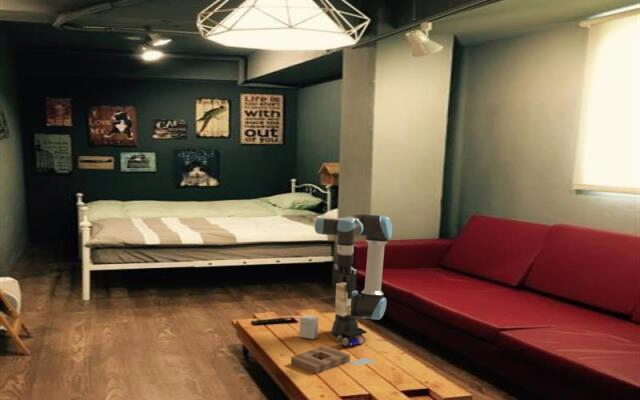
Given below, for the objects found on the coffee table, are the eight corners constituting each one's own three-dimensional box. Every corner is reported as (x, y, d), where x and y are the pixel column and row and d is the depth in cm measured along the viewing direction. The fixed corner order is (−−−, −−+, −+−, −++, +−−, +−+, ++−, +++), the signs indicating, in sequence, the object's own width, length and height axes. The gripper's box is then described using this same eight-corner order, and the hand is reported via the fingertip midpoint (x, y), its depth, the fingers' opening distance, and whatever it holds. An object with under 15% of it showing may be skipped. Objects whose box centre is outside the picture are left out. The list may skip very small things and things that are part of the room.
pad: (363, 358, 273) (363, 357, 273) (380, 365, 266) (380, 363, 266) (349, 364, 266) (349, 363, 266) (366, 370, 259) (366, 369, 259)
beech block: (342, 311, 266) (343, 282, 265) (350, 314, 263) (351, 284, 261) (335, 313, 263) (336, 283, 261) (343, 316, 259) (344, 286, 258)
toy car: (344, 352, 283) (368, 344, 292) (343, 338, 282) (367, 329, 290) (336, 348, 289) (359, 340, 297) (335, 334, 288) (358, 326, 296)
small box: (317, 335, 302) (318, 316, 301) (313, 339, 297) (314, 319, 296) (303, 333, 305) (304, 314, 304) (299, 337, 300) (300, 317, 299)
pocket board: (324, 353, 278) (324, 345, 278) (349, 363, 267) (349, 354, 267) (291, 365, 262) (291, 356, 262) (316, 376, 251) (316, 367, 251)
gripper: (325, 251, 264) (323, 300, 266) (354, 258, 251) (352, 310, 253) (336, 249, 269) (335, 298, 271) (365, 256, 256) (363, 307, 258)
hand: (343, 303), depth 262 cm, fingers closed on beech block, 5 cm apart
